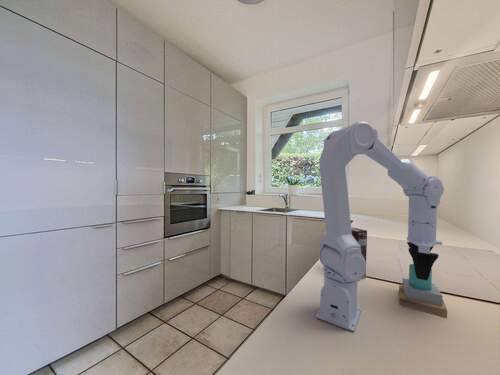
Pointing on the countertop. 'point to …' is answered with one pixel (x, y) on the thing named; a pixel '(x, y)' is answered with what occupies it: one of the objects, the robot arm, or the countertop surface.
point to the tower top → (422, 293)
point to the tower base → (422, 304)
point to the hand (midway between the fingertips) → (420, 274)
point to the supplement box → (361, 242)
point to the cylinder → (419, 280)
